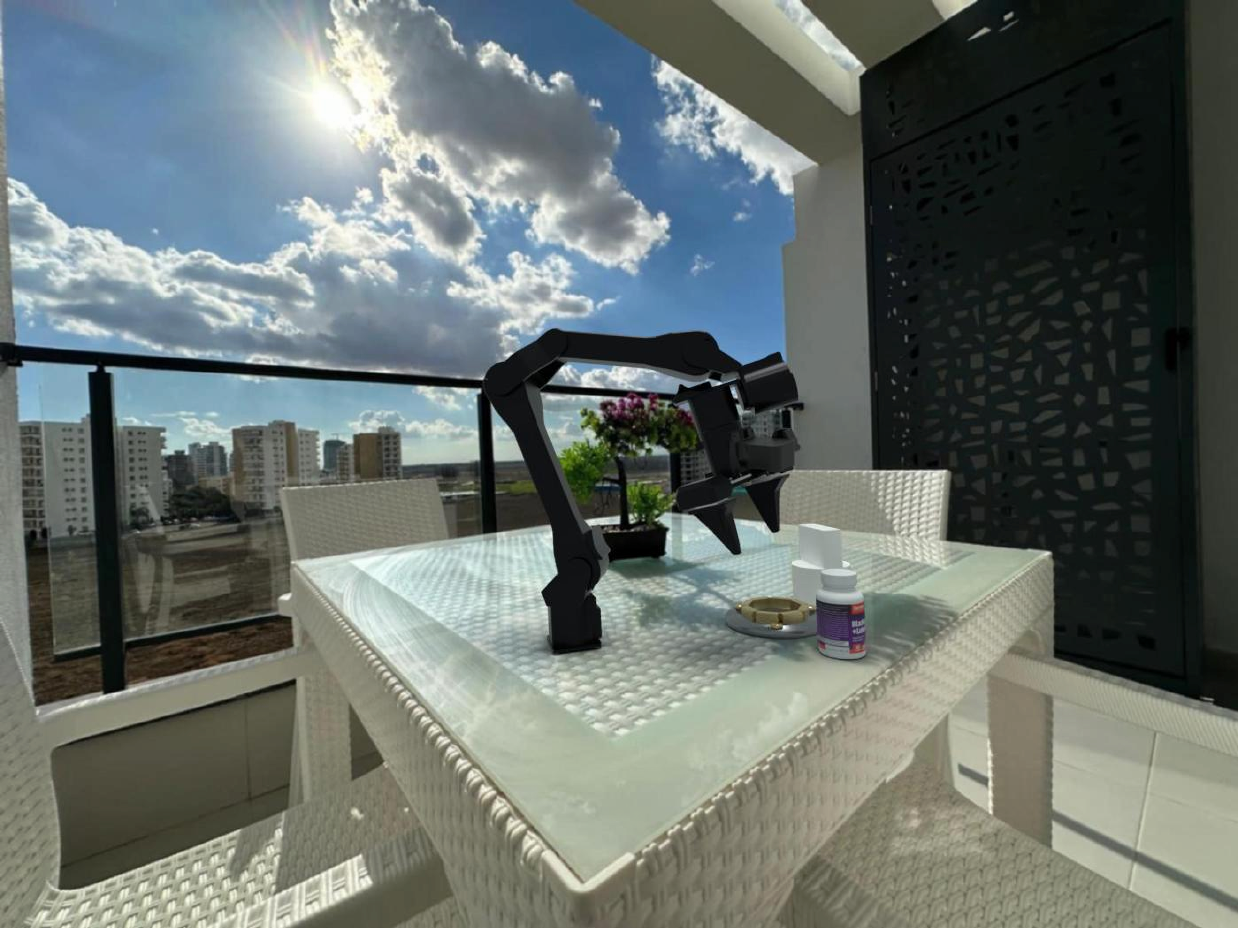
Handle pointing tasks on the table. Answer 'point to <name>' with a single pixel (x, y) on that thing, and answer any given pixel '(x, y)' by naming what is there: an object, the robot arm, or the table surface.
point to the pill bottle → (840, 615)
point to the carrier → (773, 618)
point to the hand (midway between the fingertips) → (757, 542)
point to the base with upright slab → (815, 559)
